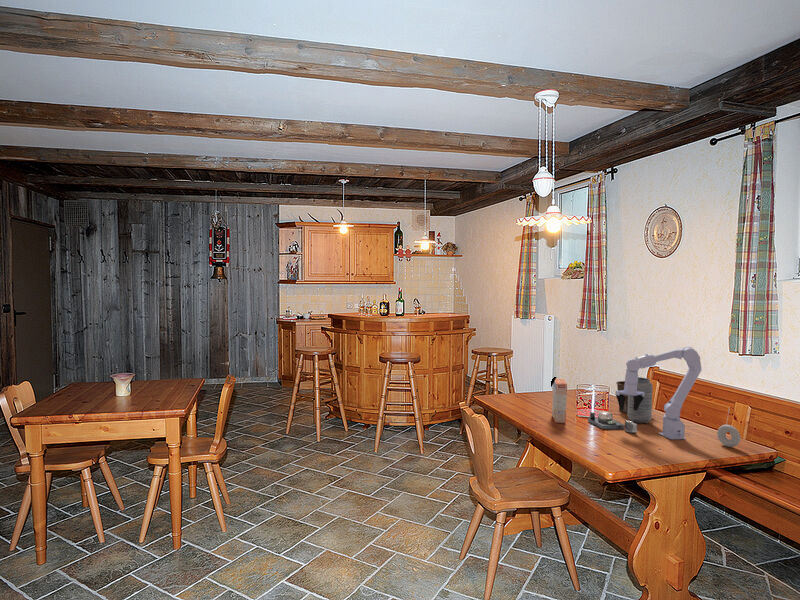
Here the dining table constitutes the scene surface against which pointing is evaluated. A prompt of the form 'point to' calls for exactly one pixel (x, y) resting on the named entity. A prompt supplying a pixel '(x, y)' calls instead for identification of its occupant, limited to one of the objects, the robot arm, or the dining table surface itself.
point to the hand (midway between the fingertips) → (628, 409)
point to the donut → (734, 433)
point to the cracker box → (559, 401)
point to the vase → (645, 406)
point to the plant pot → (621, 387)
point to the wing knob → (630, 426)
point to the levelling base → (600, 424)
